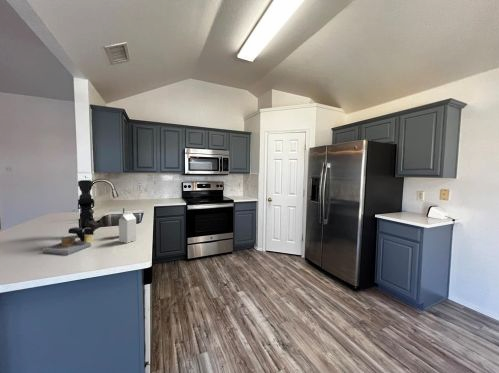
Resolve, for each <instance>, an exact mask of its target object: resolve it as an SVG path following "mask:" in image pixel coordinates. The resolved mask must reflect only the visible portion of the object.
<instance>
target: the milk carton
mask: <svg viewBox="0 0 499 373" xmlns="http://www.w3.org/2000/svg"><path fill="white" fill-rule="evenodd" d="M121 216H122V217H121V218H120V219H119V224H118V242H119V243H123V242H124V244H129V243H132V242H135V241H137V217H136V216H135V215H134V213H133V211H131V212H124V214H123V213H122V215H121ZM134 240H135V241H134ZM131 241H132V242H131ZM128 242H129V243H128Z"/></svg>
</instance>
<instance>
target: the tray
mask: <svg viewBox="0 0 499 373" xmlns="http://www.w3.org/2000/svg"><path fill="white" fill-rule="evenodd" d="M91 243H92V242H80V241H76V240H75V245H73V246H70V247H62V245H61V242H59V243H56V244H53V245H49V246H46V247H43V248H42V253H43V254H50V255H51V254H53V255H55V254H56V255H63V256H70V255H72V254H75V253H78V252H80V251H83V250H86V249H88V248H92V247H91V246H92V244H91Z"/></svg>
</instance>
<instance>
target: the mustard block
mask: <svg viewBox="0 0 499 373" xmlns="http://www.w3.org/2000/svg"><path fill="white" fill-rule="evenodd" d="M93 240H94V238H93V235H88V234H86V235H84V242H90V243H92V242H93ZM79 242H82V241H81V240H80V239H79Z"/></svg>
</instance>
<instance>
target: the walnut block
mask: <svg viewBox="0 0 499 373" xmlns="http://www.w3.org/2000/svg"><path fill="white" fill-rule="evenodd" d="M60 241H61V242H60V243H61V245H62V247H70V246H73V245H75V241H76V237H73V236H72V237H71V236H68V237H64V238H61V240H60Z"/></svg>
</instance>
